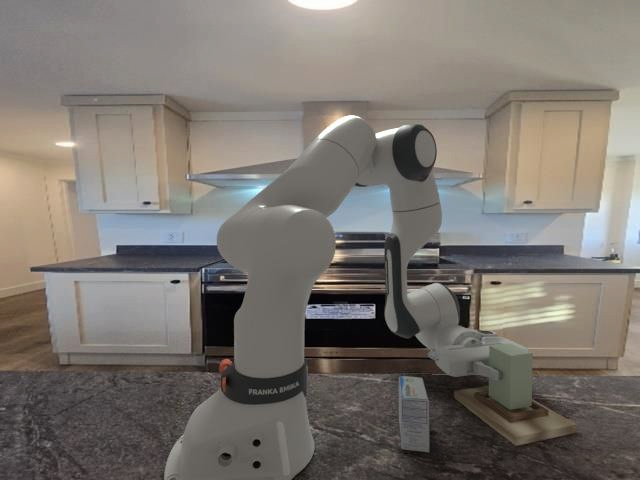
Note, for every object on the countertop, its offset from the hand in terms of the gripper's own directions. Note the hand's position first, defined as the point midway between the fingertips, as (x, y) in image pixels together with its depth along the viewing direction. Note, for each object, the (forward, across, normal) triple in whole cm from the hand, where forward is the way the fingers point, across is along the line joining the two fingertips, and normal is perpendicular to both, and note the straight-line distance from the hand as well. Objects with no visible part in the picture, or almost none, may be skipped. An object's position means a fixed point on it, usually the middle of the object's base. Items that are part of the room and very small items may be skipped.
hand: (514, 374), depth 58 cm
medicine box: (0, -22, +8) cm, 23 cm away
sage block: (-1, 0, +6) cm, 6 cm away
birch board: (-1, 0, +8) cm, 8 cm away
